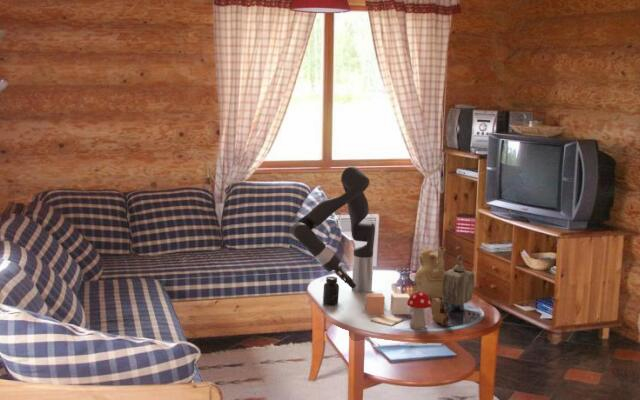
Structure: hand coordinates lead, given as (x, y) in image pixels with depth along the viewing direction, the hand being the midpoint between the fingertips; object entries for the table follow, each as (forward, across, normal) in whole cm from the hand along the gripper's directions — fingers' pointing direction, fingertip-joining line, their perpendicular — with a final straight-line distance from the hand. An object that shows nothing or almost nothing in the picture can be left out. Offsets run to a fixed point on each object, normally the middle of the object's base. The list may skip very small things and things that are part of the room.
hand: (352, 284), depth 318 cm
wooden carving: (+34, +12, +16) cm, 40 cm away
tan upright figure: (+38, -26, +21) cm, 51 cm away
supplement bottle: (+3, -12, -14) cm, 19 cm away
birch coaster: (+18, +11, 0) cm, 21 cm away
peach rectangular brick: (+16, -1, -2) cm, 16 cm away
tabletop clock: (+43, -4, +25) cm, 50 cm away
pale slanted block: (+24, -1, +6) cm, 25 cm away
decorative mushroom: (+26, +19, +8) cm, 34 cm away
